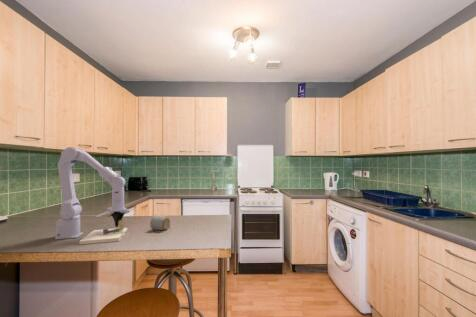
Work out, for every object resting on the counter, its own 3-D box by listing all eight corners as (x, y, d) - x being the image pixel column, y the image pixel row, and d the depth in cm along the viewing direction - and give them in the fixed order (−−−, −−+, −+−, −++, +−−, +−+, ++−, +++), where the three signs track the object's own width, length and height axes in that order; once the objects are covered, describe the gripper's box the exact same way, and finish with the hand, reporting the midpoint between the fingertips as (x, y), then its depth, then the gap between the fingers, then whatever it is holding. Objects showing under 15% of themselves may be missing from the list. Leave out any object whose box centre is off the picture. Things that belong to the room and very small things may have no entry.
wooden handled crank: (103, 233, 113) (103, 223, 114) (102, 233, 115) (102, 222, 115) (123, 229, 120) (123, 219, 120) (121, 229, 122) (121, 219, 122)
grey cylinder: (163, 232, 122) (163, 217, 122) (149, 231, 124) (149, 216, 124) (173, 227, 132) (173, 213, 133) (161, 226, 134) (161, 212, 135)
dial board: (79, 244, 104) (79, 240, 104) (93, 233, 122) (93, 230, 122) (118, 241, 108) (118, 237, 108) (127, 230, 126) (127, 227, 126)
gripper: (134, 199, 122) (134, 226, 122) (115, 198, 128) (115, 223, 128) (122, 201, 116) (122, 229, 115) (103, 200, 122) (103, 226, 122)
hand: (118, 226), depth 121 cm, fingers closed
